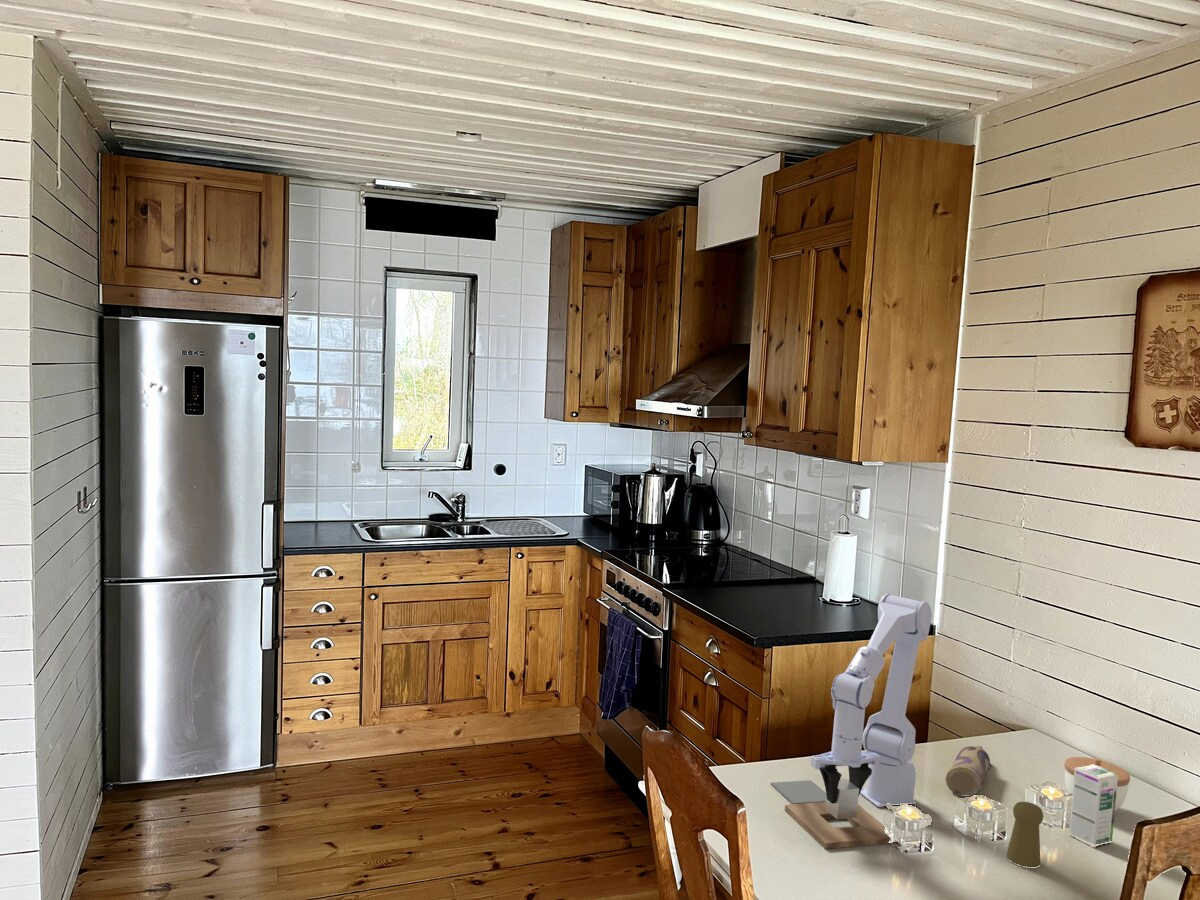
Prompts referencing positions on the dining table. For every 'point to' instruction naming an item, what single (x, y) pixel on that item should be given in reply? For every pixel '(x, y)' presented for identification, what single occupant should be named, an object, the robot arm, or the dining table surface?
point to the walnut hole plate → (829, 837)
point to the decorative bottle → (968, 770)
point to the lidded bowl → (1083, 761)
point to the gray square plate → (800, 791)
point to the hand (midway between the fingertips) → (841, 800)
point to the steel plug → (844, 801)
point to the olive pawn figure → (1025, 835)
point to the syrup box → (1093, 804)
